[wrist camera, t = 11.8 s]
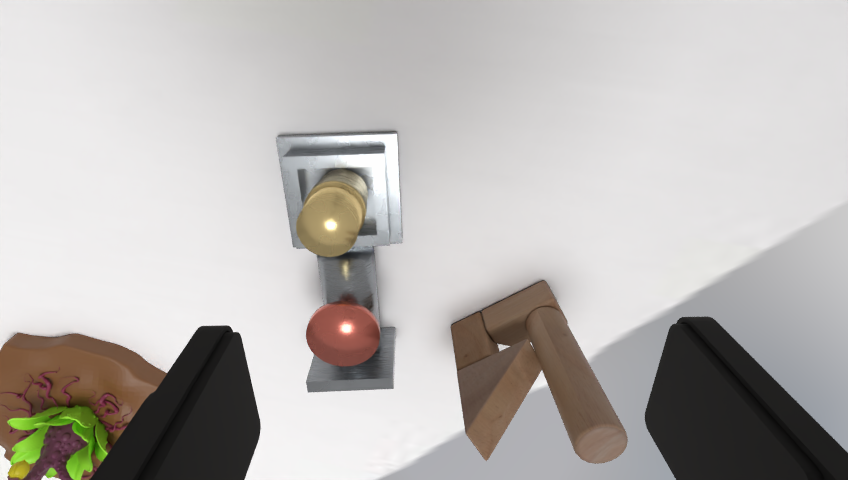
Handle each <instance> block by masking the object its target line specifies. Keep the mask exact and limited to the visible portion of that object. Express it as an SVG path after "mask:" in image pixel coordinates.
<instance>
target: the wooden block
mask: <svg viewBox="0 0 848 480" xmlns="http://www.w3.org/2000/svg"><path fill="white" fill-rule="evenodd" d="M451 332H452V339H453V346H454V353H455V360H456V367H457V376H458V383H459V390H460V397H461V404H462V411H463V418H464V425H465V432H466V435H467V436H468V437H469V439H470V440H471V441H472V443H473V444H474V446H475V447H476V448H477V450H478V451H479V452H480V454H481V455H482V457H483V458H484V459H485V460H488V458H489V457H490V455H491V453H492V452H493V450H494V449H495V447H496V445H497V443H498V442H499V440H500V439H501V436H502V435H503V433H504V432H505V430H506V429H507V427H508V425H509V424H510V422H511V420H512V418H513V417H514V415H515V413H516V412H517V410H518V408H519V407H520V405H521V403H522V402H523V400H524V398H525V397H526V395H527V393H528V392H529V390H530V388H531V387H532V385H533V383H534V382H535V380H536V378H537V377H538V375H539V373H540V372H541V370H543V373H544V375H545V378H546V380H547V383H548V385H549V388H550V390H551V393H552V395H553V398H554V400H555V403H556V405H557V408H558V410H559V413H560V415H561V418H562V420H563V423H564V425H565V428H566V430H567V433H568V435H569V438H570V440H571V443H572V445H573V448H574V451H575V453H576V454H577V455H578V456H579V457H580V458H581V459H582V460H585V461H586V462H589V463H595V464H596V463H605V462H608V461H611V460H613V459H615V458H617V457H618V456H619V455H621V454H622V453H623V451H624V450H625V448H626V446H627V435H626V431H625V429H624V428H623V426H622V424H621V422H620V420H619V419H618V416H617V415H616V413H615V411H614V410H613V408H612V406H611V404H610V402H609V400H608V398H607V396H606V395H605V393H604V391H603V389H602V387H601V385H600V384H599V382H598V380H597V378H596V376H595V374H594V373H593V371H592V369H591V367H590V365H589V363H588V362H587V360H586V358H585V356H584V354H583V352H582V351H581V349H580V347H579V345H578V343H577V341H576V340H575V338H574V336H573V334H572V332H571V330H570V329H569V327H568V325H567V320H566V318H565V316H564V314H563V312H562V310H561V308H560V306H559V304H558V302H557V300H556V299H555V297H554V295H553V293H552V291H551V290H550V288H549V286H548V284H547V282H545V281H541V282H539V283H537V284H535V285H533V286H531V287H529V288H527V289H525V290H523V291H521V292H519V293H517V294H514V295H512V296H510V297H508V298H506V299H504V300H502V301H500V302H498V303H496V304H494V305H492V306H490V307H488V308H486V309H484V310H482V314H481V313H480V312H477V313H475V314H473V315H471V316H469V317H467V318H465V319H463V320H461V321H459V322H457V323H455V324H453V325H452V326H451ZM530 342H531V343H532V345H533V347H532V346H531V344H530ZM497 343H498V344H503V345H508V346H511V347H508V348H506V349H504V350H502V351H500V352H499V348H498V345H497ZM533 348H534V349H533ZM534 350H535V351H534Z"/></svg>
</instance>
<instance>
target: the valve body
mask: <svg viewBox="0 0 848 480" xmlns="http://www.w3.org/2000/svg"><path fill="white" fill-rule="evenodd" d="M276 142H277V148H278V155H279V161H280V167H281V174H282V180H283V186H284V192H285V199H286V205H287V211H288V217H289V224H290V230H291V236H292V243H293V247H296V248H297V249H303V248H306V247H305V246H304V245H303V244H302V243H301V241H300V239H299V237H298V235H297V231H296V222H297V218H298V216H299V214H300V212H301V211H302V209H303V206H304V202H305V199H306V198H307V196H308V194H309V193H310V191H311V190H312V188H313V187H314V186H315V185H316V184H317V183H319V182H320V180H321V179H322V177H323V176H324V175H325V174H327V173H328V172H330V171H333V170H336V169H346V170H350V171H352V172H354V173H356V174H357V175H359V176H360V177H361V178H362V179H363V181H364V182H365V184H366V186H367V190H368V199H367V212H366V216H365V220H364V224H363V226H362V228H361V229H360V231H359V233H358V236H357V240H356V242H355V244H354V245H353V246H352V248H351V249H350V250H349V251H347V252H346V253H344V254H342V255H339V256H335V257H324V256H320V255H317V258H318V266H319V273H320V280H321V288H322V295H323V302H324V306H322V307H320V308H319V309H318V310H317V311H316V312H315V313H314V314H313V315H312V317H311V319H310V321H309V324H308V327H307V331H306V339H307V343H308V345H309V347H310V349H311V351H312V352H313V353H314V357H313V360H312V364H311V367H310V370H309V374H308V377H307V381H306V384H307V390H308V392H327V391H351V390H374V389H394V364H395V339H396V336H395V327H394V328H380V321H379V308H378V296H377V283H376V270H375V258H374V249H373V247H372V246H385V245H390V244H396V243H402V224H401V204H400V184H399V163H398V143H397V132H378V133H347V134H315V135H284V136H278V137H277V138H276Z"/></svg>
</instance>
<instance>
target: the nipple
mask: <svg viewBox="0 0 848 480" xmlns="http://www.w3.org/2000/svg"><path fill="white" fill-rule="evenodd" d="M367 199H368V190H367V186H366V184H365V182H364V181H363V179H362V178H361V177H360V176H359V175H357V174H356V173H354V172H352V171H350V170H346V169H336V170H333V171H330V172H328V173H327V174H325V175H324V176H323V177H322V179H321V180H320V182H319V183H317V184H316V185H315V186H314V187H313V188H312V190H311V191H310V193H309V194H308V196H307V198H306V199H305V202H304V206H303V209H302V211H301V212H300V214H299V216H298V218H297V222H296V231H297V235H298V237H299V239H300V241H301V243H302V244H303V245H304V246H305V247H306V248H307V249H308V250H309V251H311V252H313V253H315V254H317V255H320V256H324V257H335V256H339V255H342V254H344V253H346V252H347V251H349V250H350V249H351V248H352V246H353V245H354V244H355V242H356V240H357V236H358V233H359V231H360V229H361V228H362V226H363V224H364V220H365V216H366V212H367Z"/></svg>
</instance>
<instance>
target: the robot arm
mask: <svg viewBox="0 0 848 480" xmlns="http://www.w3.org/2000/svg"><path fill="white" fill-rule="evenodd" d="M645 422H646V426H647V429H648V431H649V433H650V435H651V436H652V438H653V440H654V442H655V443H656V445H657V447H658V449H659V450H660V452H661V454H662V455H663V457H664V459H665V461H666V462H667V464H668V466H669V468H670V470H671V471H672V473H673V475H674V477H675V478H676V480H848V453H847V452H846V451H845V450H844V449H843V448H842V447H841V446H840V445H839V444H838V443H837V442H836V441H835V440H834V439H833V438H832V437H831V436H830V435H829V434H828V433H827V432H826V431H825V430H824V429H823V428H822V427H821V426H820V425H819V424H818V423H817V422H816V421H815V420H814V419H813V418H812V417H811V416H810V415H809V414H808V413H807V412H806V411H805V410H804V409H803V408H802V407H801V406H800V405H799V404H798V403H797V402H796V401H795V400H794V399H793V398H792V397H791V396H790V395H789V394H788V393H787V392H786V391H785V390H784V389H783V388H782V387H781V386H780V385H779V384H778V383H777V382H776V381H775V380H774V379H773V378H772V377H771V376H770V375H769V374H768V373H767V372H766V371H765V370H764V369H763V368H762V367H761V366H760V365H759V364H758V363H757V362H756V361H755V360H754V359H753V358H752V357H751V356H750V355H749V354H748V353H747V352H746V351H745V350H744V349H743V348H742V347H741V346H740V345H739V344H738V343H737V342H736V341H735V340H734V339H733V338H732V337H731V336H730V335H729V334H728V333H727V332H726V331H725V330H724V329H723V328H722V327H721V326H720V325H719V324H718V323H717V322H716V321H715V320H714V319H713V318H711V317H682V318H680V319H679V320H678V321H677V323H676V324H673V325H672V326H671V327H670V329H669V332H668V335H667V339H666V342H665V346H664V350H663V353H662V356H661V360H660V363H659V367H658V370H657V373H656V377H655V381H654V384H653V387H652V391H651V394H650V398H649V401H648V405H647V408H646V412H645ZM259 436H260V419H259V414H258V410H257V405H256V401H255V397H254V392H253V388H252V383H251V379H250V374H249V370H248V365H247V361H246V357H245V352H244V348H243V343H242V339H241V336H240V334H239V333H238V332H233V331H232V329H231V327H230V326H201V327H199V328H198V329H197V330H196V332H195V333H194V335H193V336H192V338H191V339H190V341H189V342H188V344H187V345H186V347H185V348H184V350H183V351H182V353H181V354H180V355H179V357H178V358H177V360H176V361H175V363H174V364H173V366H172V367H171V369H170V370H169V372H168V373H167V375H166V376H165V378H164V379H163V380H162V382H161V383H160V385H159V386H158V388H157V389H156V391H154V392H153V393H151V394H150V395H149V396H148V397H147V398H146V399H145V401H144V402H143V404H142V405H141V406H140V408H139V409H138V411H137V412H136V414H135V415H134V417H133V418H132V419H131V421H130V422H129V424H128V425H127V427H126V428H125V430H124V431H123V432H122V434H121V435H120V437H119V438H118V440H117V441H116V443H115V444H114V445H113V447H112V448H111V450H110V451H109V453H108V454H107V456H106V457H105V458H104V460H103V461H102V463H101V464H100V466H99V467H98V469H97V470H96V472H95V473H94V474H93V476H92V477H91V479H90V480H244V479H245V476H246V473H247V471H248V468H249V465H250V462H251V459H252V457H253V454H254V451H255V448H256V446H257V443H258V440H259Z"/></svg>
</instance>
